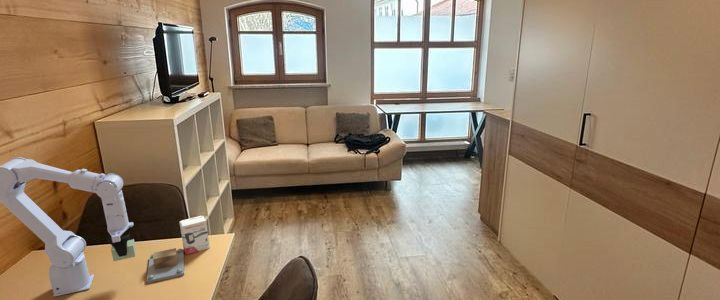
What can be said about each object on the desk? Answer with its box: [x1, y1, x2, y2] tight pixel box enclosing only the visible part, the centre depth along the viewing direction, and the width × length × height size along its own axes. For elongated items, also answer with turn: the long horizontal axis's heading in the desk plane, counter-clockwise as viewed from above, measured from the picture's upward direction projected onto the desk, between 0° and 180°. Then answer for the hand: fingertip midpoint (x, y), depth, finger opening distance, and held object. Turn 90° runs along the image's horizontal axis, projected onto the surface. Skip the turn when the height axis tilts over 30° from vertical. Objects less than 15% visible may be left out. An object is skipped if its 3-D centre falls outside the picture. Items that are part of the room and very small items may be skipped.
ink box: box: [178, 215, 211, 256], centre depth 145 cm, size 8×5×12 cm, turn 123°
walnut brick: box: [153, 248, 178, 270], centre depth 136 cm, size 7×4×4 cm, turn 113°
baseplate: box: [146, 248, 185, 284], centre depth 136 cm, size 11×16×2 cm
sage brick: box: [110, 238, 137, 262], centre depth 126 cm, size 6×4×4 cm
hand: (124, 251), depth 126 cm, fingers closed on sage brick, 5 cm apart
